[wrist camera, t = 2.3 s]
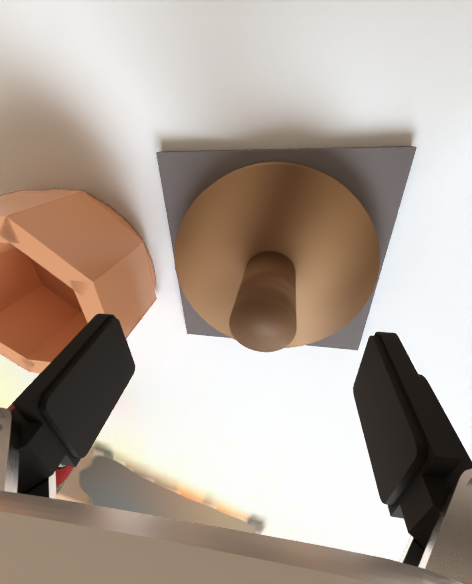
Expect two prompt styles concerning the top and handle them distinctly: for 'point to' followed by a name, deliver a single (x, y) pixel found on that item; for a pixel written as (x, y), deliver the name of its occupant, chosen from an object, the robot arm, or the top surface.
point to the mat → (333, 161)
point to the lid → (277, 255)
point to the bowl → (65, 272)
